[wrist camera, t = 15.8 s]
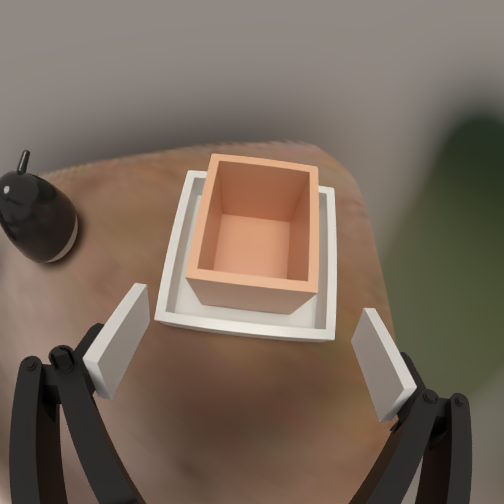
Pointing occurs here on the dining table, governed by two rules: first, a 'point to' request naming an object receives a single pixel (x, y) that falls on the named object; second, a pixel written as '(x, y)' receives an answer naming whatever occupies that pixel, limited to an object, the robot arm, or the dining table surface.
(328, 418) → the dining table surface
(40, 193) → the pump dispenser
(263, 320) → the white tray
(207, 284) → the terracotta crate
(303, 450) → the dining table surface
